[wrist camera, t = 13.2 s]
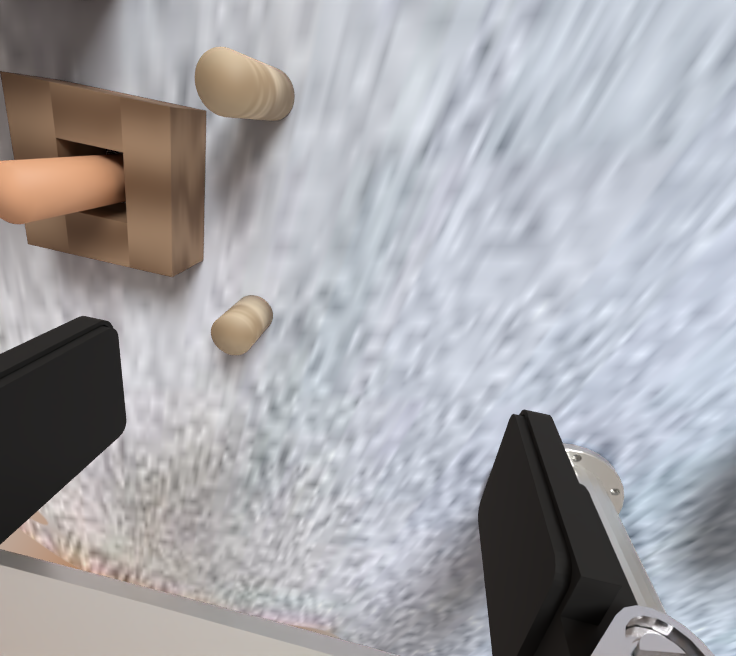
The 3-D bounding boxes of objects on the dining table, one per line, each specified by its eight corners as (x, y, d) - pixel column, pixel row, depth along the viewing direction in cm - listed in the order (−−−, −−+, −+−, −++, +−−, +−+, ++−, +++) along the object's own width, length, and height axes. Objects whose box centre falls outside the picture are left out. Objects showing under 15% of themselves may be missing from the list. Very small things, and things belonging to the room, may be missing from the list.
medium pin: (291, 125, 32) (251, 122, 25) (247, 115, 32) (194, 110, 25) (297, 72, 31) (255, 53, 24) (250, 62, 31) (195, 41, 24)
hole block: (203, 260, 38) (172, 277, 33) (75, 231, 38) (27, 243, 34) (206, 110, 33) (170, 106, 28) (58, 79, 33) (0, 71, 29)
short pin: (271, 334, 40) (250, 359, 36) (235, 325, 40) (210, 350, 36) (274, 300, 39) (253, 322, 34) (237, 291, 39) (211, 312, 34)
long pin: (157, 201, 36) (40, 229, 25) (118, 192, 36) (-15, 217, 26) (156, 157, 35) (31, 168, 24) (115, 148, 35) (-27, 155, 24)
